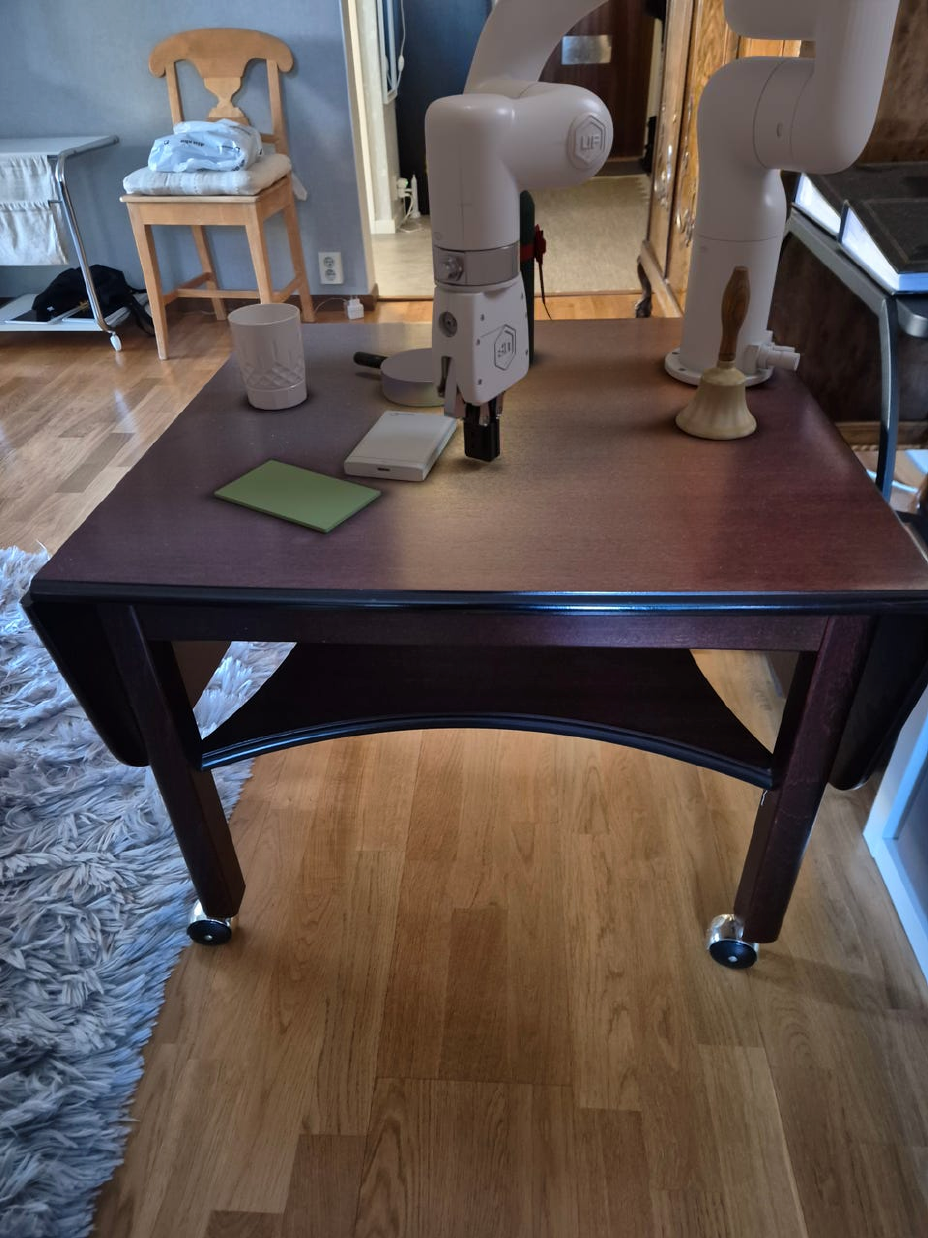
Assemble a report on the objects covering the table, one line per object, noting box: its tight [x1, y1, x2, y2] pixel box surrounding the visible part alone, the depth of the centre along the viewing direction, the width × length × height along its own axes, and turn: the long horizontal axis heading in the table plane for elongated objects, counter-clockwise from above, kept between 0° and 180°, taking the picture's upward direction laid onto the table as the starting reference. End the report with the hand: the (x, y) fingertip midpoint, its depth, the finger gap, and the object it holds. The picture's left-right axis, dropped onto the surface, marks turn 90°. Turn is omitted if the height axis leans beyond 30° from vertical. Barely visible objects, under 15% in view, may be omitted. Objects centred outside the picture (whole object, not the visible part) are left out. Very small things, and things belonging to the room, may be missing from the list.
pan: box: [352, 347, 445, 408], centre depth 101 cm, size 16×11×3 cm, turn 57°
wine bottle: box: [520, 190, 555, 366], centre depth 99 cm, size 8×10×30 cm
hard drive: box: [343, 410, 458, 482], centre depth 87 cm, size 2×8×12 cm
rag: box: [213, 459, 382, 534], centre depth 80 cm, size 14×8×1 cm, turn 57°
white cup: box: [227, 302, 308, 411], centre depth 97 cm, size 8×8×10 cm
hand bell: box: [675, 266, 757, 441], centre depth 85 cm, size 8×8×16 cm
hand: (482, 456), depth 84 cm, fingers closed
